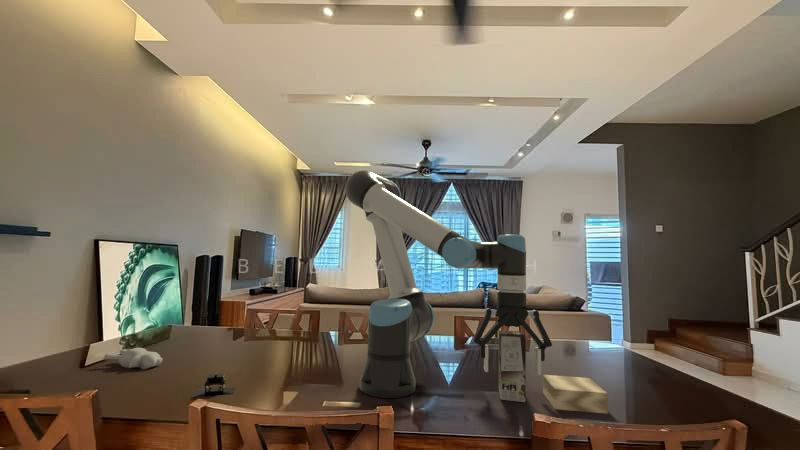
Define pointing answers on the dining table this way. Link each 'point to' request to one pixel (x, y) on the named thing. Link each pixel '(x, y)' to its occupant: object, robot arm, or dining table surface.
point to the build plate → (214, 380)
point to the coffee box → (512, 366)
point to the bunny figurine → (136, 358)
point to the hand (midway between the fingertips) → (511, 372)
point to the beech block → (575, 394)
